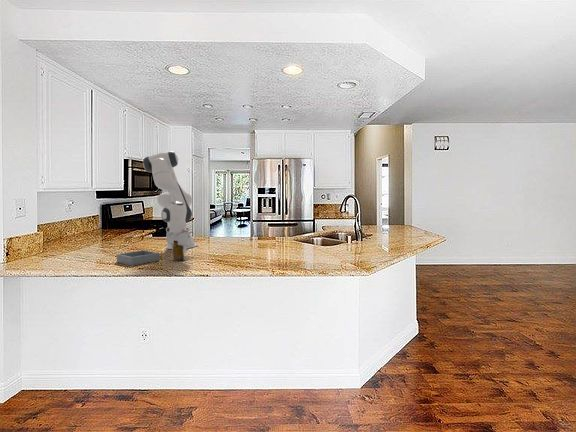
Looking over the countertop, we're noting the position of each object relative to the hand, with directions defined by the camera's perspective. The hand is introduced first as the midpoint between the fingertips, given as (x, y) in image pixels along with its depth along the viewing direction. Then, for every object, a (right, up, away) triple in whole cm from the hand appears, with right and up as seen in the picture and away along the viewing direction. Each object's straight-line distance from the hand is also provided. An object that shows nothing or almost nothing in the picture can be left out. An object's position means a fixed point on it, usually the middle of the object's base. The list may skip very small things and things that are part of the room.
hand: (179, 252), depth 257 cm
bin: (-24, -5, -3) cm, 24 cm away
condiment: (0, -5, +1) cm, 5 cm away
